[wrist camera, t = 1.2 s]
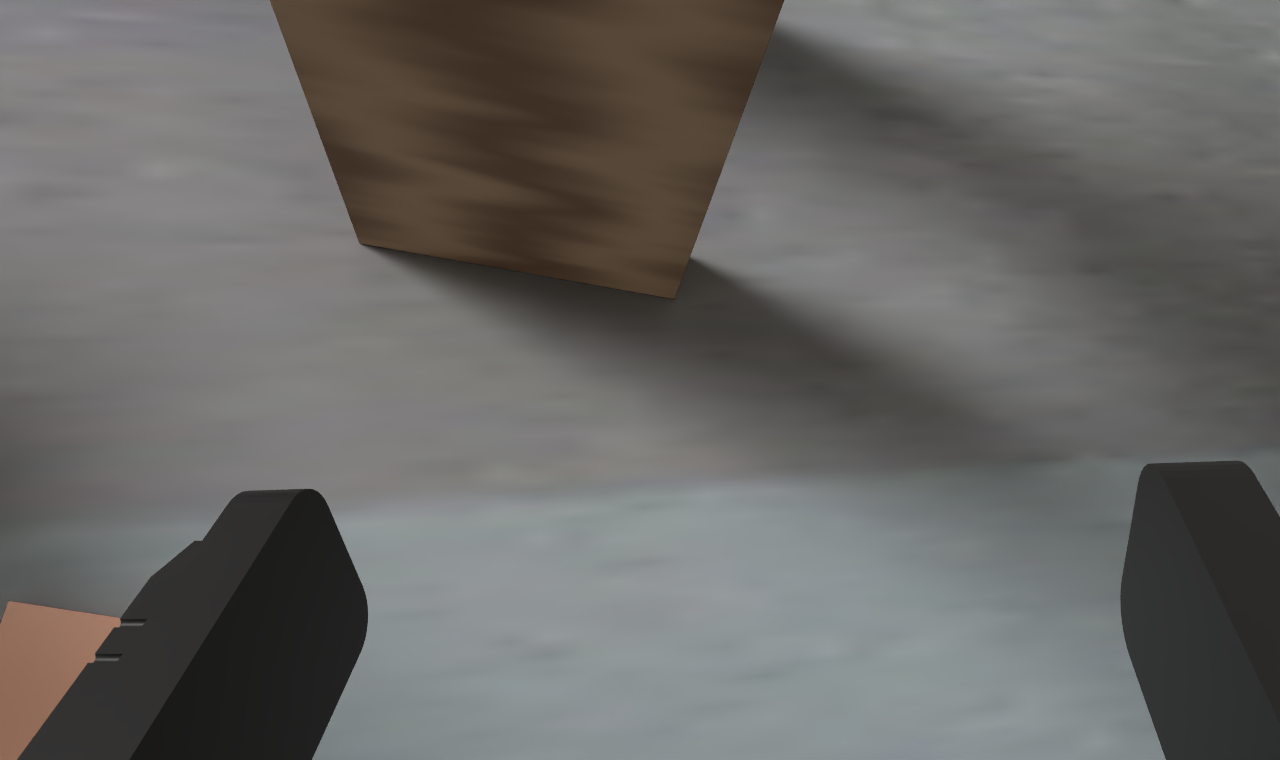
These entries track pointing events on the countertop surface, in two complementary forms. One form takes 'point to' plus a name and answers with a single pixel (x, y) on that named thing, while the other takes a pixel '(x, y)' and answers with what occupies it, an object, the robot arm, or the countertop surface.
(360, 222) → the wooden stand
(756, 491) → the countertop surface
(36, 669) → the tile
